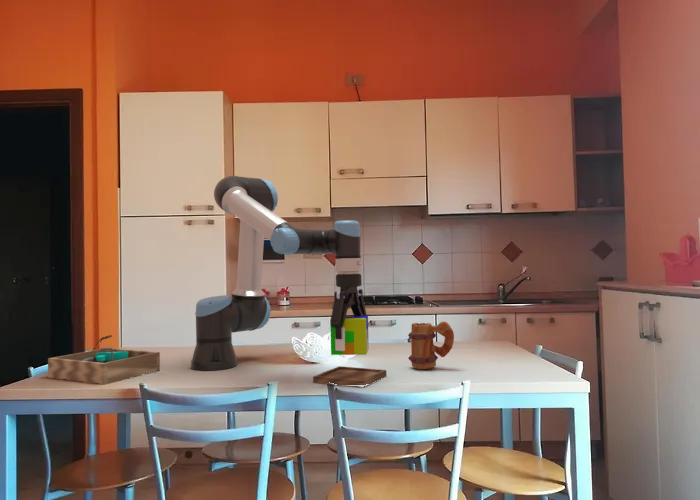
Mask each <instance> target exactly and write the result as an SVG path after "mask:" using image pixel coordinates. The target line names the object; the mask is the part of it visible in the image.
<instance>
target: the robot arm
mask: <svg viewBox="0 0 700 500" xmlns="http://www.w3.org/2000/svg"><path fill="white" fill-rule="evenodd" d="M213 197H214V201H215V203H216V205H217V206H218V208H220V209H221V210H223V211H224V212H225V213H226V214H228V215H235V216H236V217H237V218H238V219H239V221H240V224H239V238H238V239H239V240H238V257H237V273H236V286H235V287H236V288H235V289H234V290H233V291H231V295H225V294H224V295H217V296H215V295H214V296H209V297H204V298H202V299H199V300H198V301H197V303H196V304H195V305H196V306H195V314H194V315H195V335H196V336H195V337H196V339H195V347H194V351H193V354H192V359H191V360H190V367H191V370H195V371H221V370H226V369H230V368H231V369H232V368H234V367H236V366H238V357H237V355H236V352H235V349H234V345H233V341H232V340H233V339H232V335H233V334H234V333H240V332H247V331H249V332H252V331H256V330H259V329H262V328H264V326H265V325H267V324H268V322H269V320H270V317H271V310H272V309H271V305H270V301H269V300H268V299H267V298H266V296H265V294H266V293H265V292H264V291H263V290H262V278H263V277H262V276H263V275H262V274H263V261H264V260H263V258H264V257H263V256H264V243H265V238H266V239H267V240H269V241H270V246H271V247H272V250H273V252H275V253H277V254H279V255H286V256H289V255H319V256H321V255H327V254H328V255H329V254H335V255H334V257H335V273H337V274H336V275H335V285H336V287H338V288H340V289H339V291H334V292H333V293H334V295H333V297H334V299H333V304H332V305H333V307H332V312H331V319H330V320H331V323H329V324H330V325H331V327H335V350H336V351H345V327H343V324H344V321H345V317H346V316H347V313H348V310H349V308H351V312H352V315H353V316H368V314H367V311H366V305H365V300H364V294H363V293H364V292H363V289H361V288H359V289H358V287H361V286H362V274H361V271H362V264H363V262H362V257H361V236H362V235H361V227H360V226H361V225H360V223H359V221H357V220H349V219H348V220H347V219H346V220H337V221H335V223H334V227H333V228H327V229H326V228H325V229H321V228H320V229H318V228H317V229H315V228H299V227H298V228H297V227H295V226H294V225H292V224H291V223H289V222H288V221H286V220H285V219H283V218H282V217H281V216H279V215H278V214H276V213H274V211H275V210H276V207H277V206H278V200H279V196H278V191H277V189H276V187H275V186H274V184H273V183H272V182H271V181H269V180H267V179H262V178H255V177H246V176H245V177H244V176H239V175H230V176H229V175H228V176H226V177H224V178H222V179H220V180H219V181H218V182H217V183H216V185H215V188H214V191H213ZM330 325H329V326H330ZM232 333H233V334H232Z"/></svg>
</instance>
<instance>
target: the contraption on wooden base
mask: <svg viewBox="0 0 700 500" xmlns="http://www.w3.org/2000/svg"><path fill="white" fill-rule="evenodd" d="M109 338H112V334H110V335H107V336H103V337H101V338H100V339H98V341H97V342H96V344H95V347H93V349H92V350H96V347H97V345H100V344H101V343H102V341H103V340H106V339H109ZM99 349H100V352H102V350H111V352H105V353H96V354H95V355H96V356H93V357H89V358H86V359H84V360H82V361H90V362H92V361H93V362H100V363H106V362H111V361H116V360H121V359H126V358H128V353H129V352H126V351H123V352H113V349H114V348H113V347H101V348H99Z"/></svg>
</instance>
